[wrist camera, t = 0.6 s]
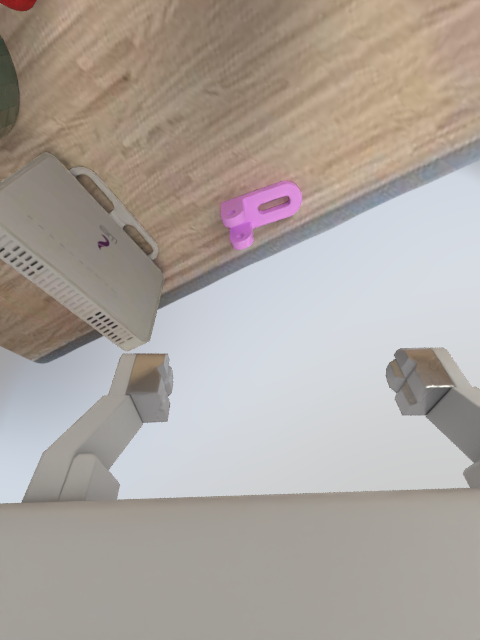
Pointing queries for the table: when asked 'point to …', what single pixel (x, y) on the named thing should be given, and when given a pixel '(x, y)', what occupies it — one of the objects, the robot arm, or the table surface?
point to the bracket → (258, 211)
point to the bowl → (7, 92)
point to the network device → (80, 249)
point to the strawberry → (19, 4)
